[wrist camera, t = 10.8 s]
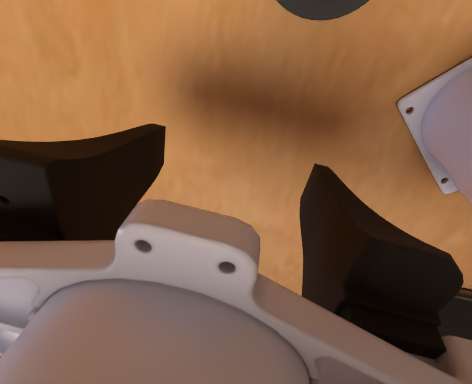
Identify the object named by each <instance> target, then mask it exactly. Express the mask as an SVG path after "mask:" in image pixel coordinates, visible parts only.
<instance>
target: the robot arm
mask: <svg viewBox="0 0 472 384" xmlns="http://www.w3.org/2000/svg"><path fill="white" fill-rule="evenodd" d="M397 106H398V109H399V111H400V113H401V115H402V116H403V118H404V120H405V122H406V124H407V126H408V128H409V130H410V132H411V134H412V136H413V138H414V140H415V142H416V143H417V145H418V147H419V149H420V151H421V153H422V155H423V157H424V159H425V161H426V163H427V165H428V167H429V169H430V171H431V172H432V174H433V176H434V178H435V180H436V182H437V184H438V186H439V188H440V190H441V191H442V192H443V193H444V194H450V193H453V192H456V191H458V190H459V191H460V192H461V193H462V194H463V195H464V196H465V198H466V199H467V200H468V201H469V202H470V203H471V204H472V58H470V59H468V60H466V61H465V62H463V63H461V64H460V65H458V66H456V67H454V68H453V69H451V70H449V71H448V72H446V73H444V74H442V75H441V76H439V77H437V78H436V79H434V80H432V81H430V82H429V83H427V84H425V85H423V86H422V87H420V88H418V89H417V90H415V91H413V92H411V93H410V94H408V95H406V96H405V97H403V98H401V99H400V100H399V102H398V105H397ZM409 107H412V109H411V111H410V112H407V113H406V109H407V108H409ZM165 129H166V127H165V126H161V125H157V124H147V125H143V126H139V127H136V128H132V129H129V130H125V131H122V132H118V133H113V134H109V135H105V136H101V137H95V138H89V139H82V140H72V141H58V142H23V141H8V140H0V356H2V357H1V359H0V384H472V340H468V339H464V338H460V337H456V336H443V337H441V336H440V333H439V331H438V329H437V327H439V326H440V325H441V320H440V318H439V316H438V312H439V311H440V310H441V309H442V308H443V307H444V306H445V305H446V304H448V303H449V302H450V301H451V300H452V299H453V298H454V297H455V296H456V295H457V293H458V292H459V291H460V290H461V288H462V285H463V274H462V273H461V271H460V269H459V268H458V266H457V264H456V263H455V261H454V260H453V258H452V256H451V255H450V254H449V253H447V252H444V251H442V250H440V249H438V248H436V247H433V246H431V245H429V244H427V243H425V242H423V241H421V240H419V239H417V238H415V237H413V236H411V235H409V234H408V233H406V232H404V231H402V230H401V229H399V228H397V227H396V226H394V225H393V224H391V223H390V222H388V221H387V220H385V219H384V218H382V217H381V216H379V215H378V214H377V213H375V212H374V211H373V210H372V209H370V208H369V207H368V206H367V205H365V204H364V203H363V202H362V201H361V200H360V199H359V198H358V197H357V196H356V195H355V194H354V193H353V192H352V191H351V190H350V189H349V188H348V187H347V186H346V185H345V184H344V183H343V182H342V181H341V180H340V179H339V177H338V176H337V175H336V174H335V173H334V172H333V171H332V170H331V169H330V168H329V167H327V166H323V165H319V164H314V167H313V169H312V172H311V174H310V177H309V179H308V182H307V184H306V186H305V189H304V191H303V194H302V196H301V201H300V226H301V236H302V246H303V284H302V296H300V295H298V294H296V293H295V292H293V291H291V290H289V289H287V288H285V287H283V286H281V285H280V284H278V283H276V282H274V281H272V280H270V279H268V278H267V277H265V276H263V275H261V274H259V273H258V265H259V256H260V237H259V235H258V234H257V233H256V231H255V230H254V229H253V227H252V226H251V225H249V224H247V223H245V222H243V221H241V220H239V219H237V218H234V217H230V216H226V215H222V214H218V213H214V212H210V211H206V210H202V209H198V208H194V207H190V206H186V205H182V204H178V203H174V202H170V201H166V200H151V199H147V200H145V201H143V202H142V203H140V204H138V205H137V203H138V202H139V201H140V199H141V198H142V197H143V195H144V194H145V193H146V191H147V190H148V189H149V187H150V186H151V185H152V183H153V182H154V181H155V179H156V178H157V176H158V174H159V172H160V170H161V168H162V166H163V164H164V149H165ZM443 178H446V179H445V180H444V181H441V180H442V179H443ZM133 208H134V209H133ZM436 326H437V327H436Z"/></svg>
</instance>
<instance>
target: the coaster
mask: <svg viewBox="0 0 472 384" xmlns="http://www.w3.org/2000/svg"><path fill="white" fill-rule="evenodd" d="M277 1H278V2H279V3H280V4H281V5H282V6H283V7H284V8H286V9H287V10H288V11H290V12H291V13H293V14H295V15H297V16H300V17H302V18H306V19H311V20H330V19H334V18H338V17H341V16H344V15H346V14H349V13H351V12H353V11H355V10H356V9H358V8H360V7H361V6H362V5H364V4H365V3H367V2H368V1H369V0H277Z"/></svg>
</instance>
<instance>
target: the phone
mask: <svg viewBox="0 0 472 384" xmlns="http://www.w3.org/2000/svg"><path fill="white" fill-rule="evenodd" d="M438 316H439V318H440V320H441V325H440V326H439V327H437V326H436V327H437V329H438V331H439V333H440V336H441V337H443V336H456V337H460V338H464V339H468V340H472V291H470V290H465V289H461V290H460V291H459V292H458V293H457V295H456V296H455V297H454V298H453V299H452V300H451V301H450V302H449V303H448V304H446V305H445V306H444V307H443V308H442V309H441V310H440V311H439V312H438Z"/></svg>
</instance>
